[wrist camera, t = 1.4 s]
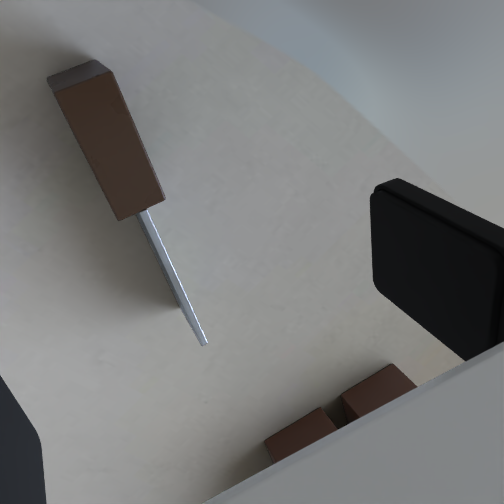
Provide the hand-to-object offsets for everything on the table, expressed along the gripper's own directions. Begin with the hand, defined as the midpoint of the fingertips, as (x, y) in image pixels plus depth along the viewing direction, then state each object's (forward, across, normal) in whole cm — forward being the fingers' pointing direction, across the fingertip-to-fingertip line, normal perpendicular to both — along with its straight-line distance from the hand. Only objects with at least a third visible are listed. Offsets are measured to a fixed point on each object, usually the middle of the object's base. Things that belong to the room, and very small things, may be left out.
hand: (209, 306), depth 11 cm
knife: (+16, -1, +4) cm, 16 cm away
